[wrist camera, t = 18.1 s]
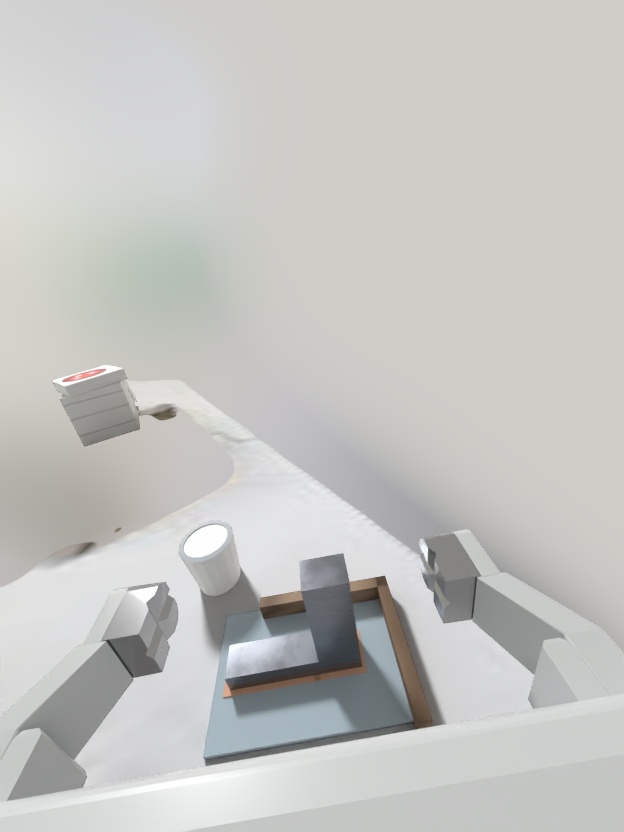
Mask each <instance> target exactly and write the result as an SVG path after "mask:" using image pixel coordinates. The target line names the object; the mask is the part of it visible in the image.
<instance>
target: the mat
mask: <svg viewBox="0 0 624 832" xmlns="http://www.w3.org/2000/svg"><path fill="white" fill-rule="evenodd" d="M353 609H354V616H355V622H356V629H357V635H358V642H359V648H360V655H361V661H362V667H358V668H352V669H347V670H341V671H336V672H330V673H325V674H319V675H313V676H308V677H302V678H297V679H291V680H286V681H280V682H275V683H269V684H263V685H258V686H252V687H247V688H241V689H236V690H230V689H229V687H228V685H227V683H226V681H225V673H226V667H227V660H228V653H229V646H230V645H234V644H240V643H245V642H251V641H257V640H262V639H268V638H273V637H279V636H284V635H290V634H296V633H301V632H307V631H311V629H310V625H309V621H308V617H307V613H306V612H303V613H297V614H291V615H286V616H280V617H275V618H269V619H263V616H262V613H261V610H259V611H253V612H247V613H242V614H236V615H230V616H227V619H226V625H225V631H224V637H223V642H222V648H221V654H220V660H219V666H218V672H217V678H216V684H215V690H214V696H213V702H212V708H211V714H210V720H209V726H208V732H207V738H206V744H205V750H204V756H203V758H204V759H210V758H216V757H222V756H227V755H233V754H238V753H244V752H249V751H255V750H260V749H266V748H272V747H277V746H283V745H288V744H294V743H299V742H305V741H310V740H316V739H322V738H327V737H333V736H338V735H344V734H349V733H355V732H361V731H366V730H372V729H377V728H383V727H388V726H394V725H399V724H405V723H411V722H413V718H412V714H411V711H410V707H409V704H408V700H407V697H406V693H405V690H404V686H403V683H402V679H401V676H400V672H399V669H398V665H397V662H396V658H395V655H394V651H393V648H392V644H391V641H390V637H389V634H388V630H387V627H386V623H385V620H384V616H383V613H382V609H381V606H380V602H379V599H376V600H370V601H365V602H359V603H354V604H353Z"/></svg>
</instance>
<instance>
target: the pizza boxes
mask: <svg viewBox="0 0 624 832" xmlns="http://www.w3.org/2000/svg"><path fill="white" fill-rule="evenodd" d="M125 379H127V377H126V374H125V372H124V370H123V368H118V367H113V366H108V365H104V366H101V367H97V368H94V369H91V370H87V371H84V372H80V373H77V374H74V375H70V376H66V377H63V378H60V379H56V380H53V381H52V382H53V384H54V386H55V388H56V390H57V391H58V392H60V393H62V394H63V395H62V396H61V398H60V401H61V403H62V405H63V407H64V409H65V411H66V413H67V414H68V416H69V418H70V420H71V422H72V424H73V426H74V428H75V430H76V432H77V433H78V435H79V437H80V439H81V441H82V443H83V445H84V446H88V445H91V444H94V443H97V442H100V441H104V440H107V439H110V438H113V437H116V436H120V435H123V434H126V433H129V432H132V431H135V430H139V429H140V424H139V414H138V411H137V409H136V407H135V404H134V402H137V401H136V398H135V396H134V393H133V392H132V390H131V388H130V387H129V385H128V383H127V382H126V380H125Z"/></svg>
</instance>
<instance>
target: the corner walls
mask: <svg viewBox="0 0 624 832" xmlns="http://www.w3.org/2000/svg"><path fill="white" fill-rule="evenodd" d="M349 583H350V590H351V596H352V603H353V604H354V603H359V602H365V601H370V600H376V599H379V602H380V606H381V609H382V613H383V616H384V620H385V623H386V627H387V630H388V634H389V637H390V641H391V644H392V648H393V651H394V655H395V658H396V662H397V665H398V669H399V672H400V676H401V679H402V683H403V686H404V690H405V693H406V697H407V700H408V704H409V707H410V711H411V714H412V718H413V723H414V727H415V729H421V728H427V727H432V718H431V715H430V712H429V709H428V706H427V703H426V700H425V697H424V694H423V691H422V688H421V685H420V682H419V679H418V675H417V672H416V669H415V666H414V663H413V660H412V657H411V654H410V651H409V648H408V645H407V642H406V639H405V636H404V633H403V630H402V627H401V624H400V621H399V618H398V614H397V611H396V608H395V605H394V602H393V599H392V596H391V593H390V590H389V587H388V584H387V581H386V578H385V576H381V577H375V578H370V579H364V580H358V581H353V582H349ZM260 610H261V613H262V616H263V619H269V618H275V617H280V616H286V615H291V614H297V613H303V612H306V609H305V605H304V601H303V597H302V593H301V591H296V592H291V593H285V594H279V595H274V596H268V597H262V598H260Z"/></svg>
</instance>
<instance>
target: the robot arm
mask: <svg viewBox="0 0 624 832" xmlns="http://www.w3.org/2000/svg"><path fill="white" fill-rule="evenodd" d="M420 548H421V550H422V552H423V553H422V554H421V556H420V566H421V571H422V575H423V578H424V581H425V583H426V585H427V588H428V589H430V590H431V591H432V592H434V603H435V606H436V608H437V610H438V612H439V614H440V617H441V619H442V621H443V623H450V622H457V621H464V620H471V619H473V622H474V623H475V624H477V625H478V626H479V627H480V628H481V629H482V630H483V631H485V632H486V633H487V634H488V635H489V636H490V637H491V638H493V639H494V640H495V641H496V642H497V643H498V644H499V645H501V646H502V647H503V648H504V649H505V650H506V651H508V652H509V653H510V654H511V655H512V656H513V657H514V658H516V659H517V660H518V661H519V662H520V663H521V664H522V665H524V666H525V667H526V668H527V669H528V670H529V671H530V672H532V673H533V674H534V679H533V683H532V687H531V691H530V694H529V698H528V700H529V702H530V704H531V705H532V707H533V709H530V710H524V711H518V712H513V713H507V714H501V715H495V716H490V717H484V718H478V719H473V720H467V721H461V722H455V723H450V724H444V725H438V726H432V727H427V728H421V729H415V730H409V731H404V732H398V733H392V734H387V735H381V736H375V737H369V738H364V739H358V740H352V741H347V742H341V743H335V744H329V745H324V746H318V747H312V748H307V749H301V750H295V751H289V752H284V753H278V754H272V755H267V756H261V757H255V758H249V759H244V760H238V761H232V762H227V763H221V764H215V765H210V766H204V767H198V768H192V769H187V770H181V771H175V772H170V773H164V774H158V775H152V776H147V777H141V778H135V779H130V780H124V781H118V782H113V783H107V784H101V785H95V786H90V787H84V788H83V785H84V783H85V780H86V778H87V776H86V772H85V770H84V769H83V768H82V767H81V766H80V765H78V764H77V763H76V762H75V761H74V759H75V758H76V756H77V755H78V754H79V752H80V751H81V750H82V748H83V747H84V746H85V744H86V743H87V742H88V740H89V739H90V738H91V736H92V735H93V734H94V732H95V731H96V730H97V728H98V727H99V726H100V724H101V723H102V721H103V720H104V719H105V717H106V716H107V715H108V713H109V712H110V711H111V709H112V708H113V707H114V705H115V704H116V703H117V701H118V700H119V699H120V697H121V696H122V695H123V693H124V692H125V691H126V689H127V688H128V686H129V685H130V684H131V682H132V681H133V678H135V677H140V676H145V675H150V674H155V673H160V672H162V671H163V668H164V665H165V662H166V658H167V655H168V652H169V649H170V646H169V643H168V641H167V640H168V639H169V638H170V636H171V635H172V634H173V633H174V632H175V629H176V625H177V622H178V607H177V603H176V601H175V599H174V598H172V597H171V596H169V595H168V592H169V587H168V586H167V584H166V582H161V583H154V584H147V585H140V586H133V587H127V588H121V589H115V590H114V591H113V592H112V593H111V594H110V595H109V597H108V599H107V601H106V603H105V604H104V606H103V608H102V610H101V612H100V614H99V615H98V617H97V619H96V621H95V623H94V625H93V627H92V628H91V630H90V632H89V634H88V636H87V638H86V639H85V641H84V643H83V645H79V646H77V647H76V648H75V649H74V650H72V651H71V652H70V653H69V654H68V655H67V656H66V657H65V658H64V659H63V660H62V661H61V662H60V663H58V664H57V665H56V666H55V667H54V668H53V669H52V670H51V671H50V672H49V673H48V674H47V675H45V676H44V677H43V678H42V679H41V680H40V681H39V682H38V683H37V684H36V685H35V686H34V687H33V688H31V689H30V690H29V691H28V692H27V693H26V694H25V695H24V696H23V697H22V698H21V699H20V700H19V701H17V702H16V703H15V704H14V705H13V706H12V707H11V708H10V709H9V710H8V711H7V712H6V713H4V714H3V715H2V716H1V717H0V832H624V653H623V652H622V651H621V649H620V648H619V647H618V646H617V645H616V644H615V643H614V641H613V640H612V639H611V638H610V637H609V636H608V635H607V634H606V633H605V631H604V630H603V629H602V628H600V627H598V626H596V625H595V624H593V623H591V622H589V621H588V620H586V619H585V618H583V617H581V616H580V615H578V614H576V613H574V612H573V611H571V610H569V609H567V608H566V607H564V606H563V605H561V604H559V603H557V602H555V601H554V600H552V599H551V598H549V597H547V596H545V595H544V594H542V593H540V592H539V591H537V590H535V589H533V588H532V587H530V586H528V585H527V584H525V583H523V582H522V581H520V580H518V579H516V578H515V577H513V576H511V575H510V574H508V573H506V572H504V573H500V571H499V570H498V568H497V567H496V566H495V565H494V563H493V561H492V560H491V559H490V557H489V556H488V554H487V553H486V552H485V550H484V549H483V547H482V546H481V545H480V543H479V542H478V540H477V539H476V538H475V536H474V535H473V534H472V532H471V531H469V530H468V529H467V530H461V531H456V532H452V533H451V532H449V533H444V534H438V535H432V536H427V537H421V538H420Z"/></svg>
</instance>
